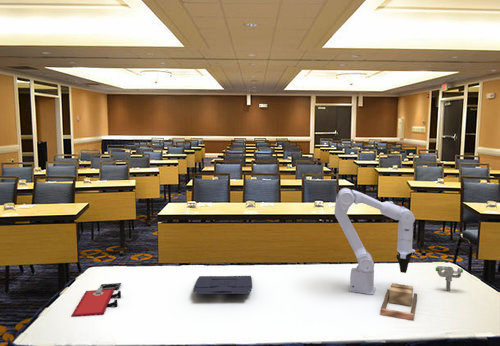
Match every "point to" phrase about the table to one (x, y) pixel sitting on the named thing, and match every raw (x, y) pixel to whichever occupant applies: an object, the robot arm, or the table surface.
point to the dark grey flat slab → (223, 285)
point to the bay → (398, 313)
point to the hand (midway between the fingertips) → (403, 270)
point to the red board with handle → (97, 300)
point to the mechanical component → (448, 274)
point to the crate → (401, 294)
